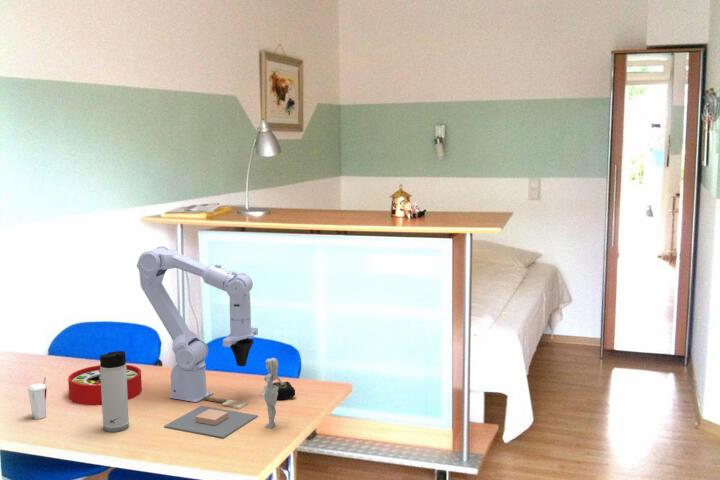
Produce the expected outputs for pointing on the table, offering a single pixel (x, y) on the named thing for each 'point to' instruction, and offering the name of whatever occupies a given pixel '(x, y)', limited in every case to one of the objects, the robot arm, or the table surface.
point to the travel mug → (114, 391)
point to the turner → (227, 402)
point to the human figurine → (271, 389)
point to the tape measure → (284, 390)
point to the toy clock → (99, 385)
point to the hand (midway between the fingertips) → (241, 365)
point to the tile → (211, 417)
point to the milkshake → (38, 399)
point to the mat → (219, 430)
